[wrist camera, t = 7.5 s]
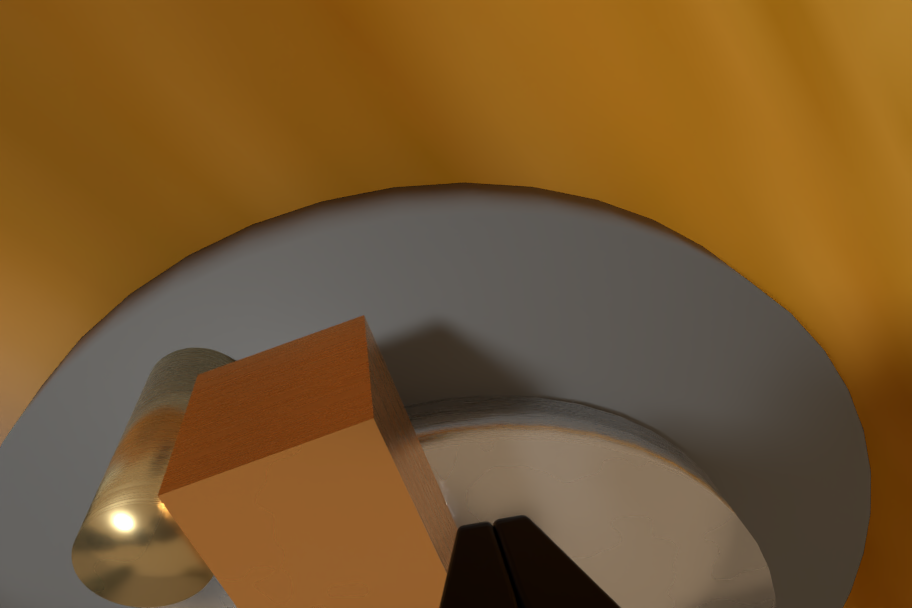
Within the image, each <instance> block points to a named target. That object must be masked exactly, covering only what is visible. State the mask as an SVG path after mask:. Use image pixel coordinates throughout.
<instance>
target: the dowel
mask: <svg viewBox="0 0 912 608" xmlns="http://www.w3.org/2000/svg"><path fill="white" fill-rule="evenodd" d="M232 362H235V361H234V360H233V359H232V358H230V357H229V356H227V355H225V354H223V353H221V352H218V351H215V350H212V349H207V348H185V349H180V350H177V351H174V352H172V353H170V354H168V355H166V356H165V357H163V358H162V359H161V360H160V361H158V362H157V364H156V365H155V366H154V367H153V369H152V370H151V372H150V375H149V377H148V379H147V381H146V383H145V386H144V388H143V390H142V392H141V395H140V397H139V399H138V401H137V403H136V406H135V408H134V410H133V412H132V415H131V417H130V419H129V421H128V423H127V426H126V428H125V430H124V432H123V435H122V437H121V439H120V441H119V443H118V446H117V448H116V450H115V452H114V455H113V457H112V459H111V461H110V463H109V466H108V468H107V470H106V472H105V475H104V477H103V479H102V481H101V483H100V486H99V488H98V490H97V492H96V495H95V497H94V499H93V501H92V503H91V506H90V508H89V510H88V512H87V515H86V517H85V519H84V521H83V523H82V526H81V528H80V530H79V532H78V535H77V537H76V539H75V541H74V544H73V547H72V556H71V559H72V564H73V568H74V570H75V573H76V574H77V576H78V578H79V579H80V580H81V581H82V583H83V584H84V585H85V586H86V587H87V588H88V589H90V590H91V591H92V592H94V593H95V594H97V595H98V596H100V597H102V598H104V599H106V600H109V601H111V602H114V603H117V604H121V605H125V606H131V607H142V608H150V607H161V606H167V605H171V604H175V603H178V602H181V601H183V600H186V599H188V598H190V597H192V596H193V595H195V594H197V593H198V592H199V591H201V590H202V589H203V588H204V587H205V586H206V585H207V584H208V583H209V581H210V580H211V579H212V577H213V575H214V574H213V573H212V572H211V570H210V569H209V567H208V566H207V565H206V563H205V562H204V560H203V559H202V558H201V556H200V555H199V553H198V552H197V551H196V549H195V548H194V546H193V545H192V544H191V542H190V541H189V539H188V538H187V537H186V535H185V534H184V532H183V531H182V530H181V528H180V527H179V525H178V524H177V523H176V521H175V520H174V518H173V517H172V516H171V514H170V513H169V511H168V510H167V509H166V507H165V506H164V504H163V503H162V502H161V500H160V499H159V497H158V493H159V490H160V487H161V484H162V481H163V478H164V475H165V472H166V469H167V466H168V463H169V460H170V457H171V454H172V451H173V448H174V445H175V442H176V439H177V436H178V433H179V430H180V427H181V424H182V421H183V418H184V415H185V412H186V409H187V406H188V403H189V400H190V397H191V394H192V391H193V388H194V385H195V382H196V379H197V376H198V375H199V374H201V373H204V372H207V371H210V370H213V369H215V368H218V367H221V366H224V365H226V364H229V363H232Z"/></svg>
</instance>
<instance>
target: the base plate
mask: <svg viewBox="0 0 912 608" xmlns="http://www.w3.org/2000/svg"><path fill="white" fill-rule="evenodd" d="M363 315H364V316H365V318H366V320H367V323H368V325H369V327H370V330H371V332H372V334H373V336H374V339H375V341H376V343H377V346H378V348H379V350H380V352H381V355H382V357H383V359H384V362H385V364H386V366H387V368H388V371H389V373H390V375H391V378H392V380H393V382H394V385H395V387H396V389H397V391H398V394H399V396H400V398H401V401H402V403H403V405H404V406H407V405H412V404H418V403H423V402H428V401H434V400H439V399H449V398H462V397H476V396H489V395H491V396H518V397H538V398H544V399H550V400H557V401H563V402H569V403H576V404H581V405H584V406H587V407H591V408H594V409H598V410H601V411H604V412H608V413H611V414H615V415H618V416H620V417H622V418H625V419H627V420H629V421H631V422H633V423H636V424H638V425H640V426H642V427H644V428H647V429H649V430H651V431H653V432H654V433H656V434H658V435H659V436H661V437H662V438H664V439H665V440H667V441H668V442H670V443H671V444H673V445H674V446H676V447H677V448H679V449H680V450H682V451H683V452H684V453H685V454H686V455H687V456H688V457H689V458H690V459H691V460H692V461H693V462H695V463H696V464H697V465H698V466H699V467H700V468H701V469H702V470H703V471H704V472H705V473H706V474H707V476H708V477H709V479H710V480H711V481H712V483H713V484H714V485H715V487H716V488H717V489H718V491H719V492H720V493H721V495H722V496H723V497H724V499H725V500H726V501H727V503H728V504H729V506H730V507H731V508H732V510H733V511H734V512H735V514H736V515H737V516H738V518H739V519H740V520H741V522H742V523H743V524H744V526H745V527H746V529H747V530H748V531H749V533H750V534H751V535H752V537H753V538H754V539H755V541H756V542H757V544H758V546H759V548H760V550H761V552H762V554H763V557H764V559H765V561H766V563H767V565H768V567H769V570H770V574H771V579H772V583H773V587H774V592H775V598H776V608H843V606H844V604H845V602H846V600H847V598H848V596H849V594H850V592H851V589H852V586H853V583H854V580H855V577H856V574H857V571H858V568H859V565H860V562H861V559H862V556H863V553H864V547H865V541H866V536H867V530H868V524H869V519H870V504H871V471H870V465H869V459H868V453H867V447H866V441H865V436H864V430H863V428H862V425H861V422H860V420H859V417H858V414H857V412H856V409H855V406H854V404H853V401H852V398H851V396H850V393H849V390H848V389H847V387H846V385H845V384H844V382H843V380H842V379H841V377H840V375H839V374H838V372H837V371H836V369H835V367H834V366H833V364H832V362H831V361H830V359H829V357H828V356H827V354H826V353H825V351H824V350H823V349H822V347H821V346H820V345H819V344H818V343H817V342H816V341H815V340H814V339H813V337H812V336H811V335H810V334H809V333H808V332H807V331H806V330H805V329H804V328H803V326H802V325H801V324H800V323H799V322H798V321H797V320H796V319H795V318H794V317H793V315H792V314H791V313H790V312H788V311H787V310H786V309H784V308H783V307H782V306H781V305H779V304H778V303H777V302H775V301H774V300H773V299H771V298H770V297H769V296H768V295H766V294H765V293H764V292H762V291H761V290H760V289H758V288H757V287H756V286H754V285H753V284H752V283H751V282H749V281H748V280H747V279H745V278H744V277H743V276H741V275H740V274H739V273H737V272H736V271H735V270H733V269H732V268H731V267H729V266H728V265H727V264H725V263H724V262H723V261H721V260H720V259H719V258H717V257H716V256H715V255H713V254H712V253H711V252H709V251H708V250H707V249H705V248H704V247H703V246H701V245H699V244H697V243H695V242H694V241H692V240H690V239H688V238H686V237H684V236H682V235H681V234H679V233H677V232H675V231H673V230H671V229H669V228H667V227H666V226H664V225H662V224H660V223H658V222H656V221H654V220H652V219H649V218H647V217H644V216H641V215H638V214H635V213H632V212H630V211H627V210H624V209H621V208H618V207H615V206H613V205H610V204H607V203H604V202H601V201H599V200H595V199H590V198H585V197H580V196H575V195H570V194H565V193H560V192H555V191H550V190H545V189H540V188H535V187H525V186H509V185H493V184H477V183H452V184H437V185H423V186H408V187H393V188H388V189H383V190H378V191H373V192H368V193H363V194H358V195H352V196H347V197H342V198H337V199H332V200H327V201H322V202H319V203H316V204H313V205H310V206H307V207H304V208H301V209H298V210H295V211H292V212H289V213H286V214H283V215H280V216H277V217H274V218H271V219H268V220H265V221H262V222H259V223H256V224H253V225H250V226H248V227H246V228H244V229H242V230H240V231H238V232H236V233H234V234H232V235H230V236H228V237H226V238H224V239H222V240H220V241H217V242H215V243H213V244H211V245H209V246H207V247H205V248H203V249H201V250H199V251H197V252H195V253H193V254H191V255H189V256H187V257H185V258H184V259H182V260H181V261H179V262H178V263H176V264H175V265H173V266H172V267H170V268H169V269H167V270H166V271H164V272H163V273H161V274H160V275H158V276H157V277H155V278H154V279H152V280H151V281H149V282H148V283H146V284H145V285H143V286H142V287H140V288H139V289H137V290H136V291H134V292H133V293H131V294H130V295H129V296H127V297H126V298H125V299H124V300H123V301H122V302H121V303H120V304H119V305H117V306H116V307H115V308H114V309H113V310H112V311H111V312H110V313H108V314H107V315H106V316H105V317H104V318H103V319H102V320H101V321H100V322H98V323H97V324H96V325H95V326H94V327H93V328H92V329H91V330H89V331H88V332H87V333H86V334H85V335H84V336H83V337H82V338H81V339H80V340H79V341H78V342H77V344H76V345H75V346H74V347H73V348H72V350H71V351H70V352H69V353H68V355H67V356H66V357H65V358H64V359H63V361H62V362H61V363H60V364H59V366H58V367H57V368H56V369H55V370H54V372H53V373H52V374H51V375H50V377H49V378H48V379H47V380H46V381H45V383H44V384H43V385H42V386H41V388H40V389H39V391H38V392H37V394H36V395H35V397H34V398H33V399H32V401H31V402H30V404H29V405H28V407H27V408H26V409H25V411H24V412H23V414H22V415H21V417H20V418H19V420H18V421H17V422H16V424H15V425H14V427H13V428H12V430H11V431H10V432H9V434H8V435H7V437H6V438H5V440H4V442H3V443H2V445H1V447H0V608H141V607H131V606H125V605H121V604H117V603H114V602H111V601H109V600H106V599H104V598H102V597H100V596H98V595H97V594H95V593H94V592H92V591H91V590H90V589H88V588H87V587H86V586H85V585H84V584H83V583H82V581H81V580H80V579H79V578H78V576H77V574H76V573H75V570H74V568H73V564H72V559H71V556H72V547H73V544H74V541H75V539H76V537H77V535H78V532H79V530H80V528H81V526H82V523H83V521H84V519H85V517H86V515H87V512H88V510H89V508H90V506H91V503H92V501H93V499H94V497H95V495H96V492H97V490H98V488H99V486H100V483H101V481H102V479H103V477H104V475H105V472H106V470H107V468H108V466H109V463H110V461H111V459H112V457H113V455H114V452H115V450H116V448H117V446H118V443H119V441H120V439H121V437H122V435H123V432H124V430H125V428H126V426H127V423H128V421H129V419H130V417H131V415H132V412H133V410H134V408H135V406H136V403H137V401H138V399H139V397H140V395H141V392H142V390H143V388H144V386H145V383H146V381H147V379H148V377H149V375H150V372H151V370H152V369H153V367H154V366H155V365H156V364H157V362H158V361H160V360H161V359H162V358H163V357H165V356H166V355H168V354H170V353H172V352H174V351H177V350H180V349H185V348H207V349H212V350H215V351H218V352H221V353H223V354H225V355H227V356H229V357H230V358H232V359H233V360H234V361H238V360H240V359H243V358H246V357H249V356H252V355H254V354H257V353H260V352H263V351H265V350H268V349H271V348H274V347H277V346H279V345H282V344H285V343H288V342H290V341H293V340H296V339H299V338H302V337H304V336H307V335H310V334H313V333H315V332H318V331H321V330H324V329H327V328H329V327H332V326H335V325H338V324H341V323H343V322H346V321H349V320H352V319H354V318H357V317H360V316H363Z"/></svg>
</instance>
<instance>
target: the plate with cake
mask: <svg viewBox="0 0 912 608" xmlns="http://www.w3.org/2000/svg"><path fill="white" fill-rule="evenodd" d="M158 497H159V499H160V500H161V502H162V503H163V504H164V506H165V507H166V509H167V510H168V511H169V513H170V514H171V516H172V517H173V518H174V520H175V521H176V523H177V524H178V525H179V527H180V528H181V530H182V531H183V532H184V534H185V535H186V537H187V538H188V539H189V541H190V542H191V544H192V545H193V546H194V548H195V549H196V551H197V552H198V553H199V555H200V556H201V558H202V559H203V560H204V562H205V563H206V565H207V566H208V567H209V569H210V570H211V572H212V573H213V574H214V575H213V577H212V579H211V580H210V581H209V583H208V584H207V585H206V586H205V587H204V588H203V589H202V590H201V591H199V592H198V593H197V594H195V595H193V596H192V597H190V598H188V599H186V600H183V601H181V602H178V603H175V604H171V605H167V606H161V607H150V608H439V606H440V602H441V597H442V593H443V588H444V584H445V580H446V575H447V571H448V567H449V562H450V558H451V553H452V549H453V545H454V540H455V536H456V532H457V530H458V528H459V527H460V526H462V525H467V524H473V523H479V522H484V521H488V522H490V523H491V524H492V525H493V523H494V522H495V521H496V520H497V519H501V518H507V517H513V516H518V515H525V516H527V517H529V518H530V519H531V520H532V521H533V522H534V523H535V524H536V525H537V526H538V527H539V528H540V529H541V530H542V531H543V532H544V533H545V534H546V535H547V536H548V537H549V538H550V539H551V540H552V541H553V542H554V543H555V544H557V545H558V546H559V547H560V548H561V549H562V550H563V551H564V552H565V553H566V554H567V555H568V556H569V557H570V558H571V559H572V560H573V561H574V562H575V563H576V564H577V565H578V566H579V567H580V568H581V569H582V570H583V571H584V572H585V573H586V574H587V575H588V576H589V577H590V578H591V579H592V580H593V581H594V582H595V583H596V584H597V585H598V586H599V587H600V588H601V589H603V590H604V591H605V592H606V593H607V594H608V595H609V596H610V597H611V598H612V599H613V600H614V601H615V602H616V603H617V604H618V605H619V606H620V607H621V608H776V598H775V592H774V587H773V583H772V579H771V574H770V570H769V567H768V565H767V563H766V561H765V559H764V557H763V554H762V552H761V550H760V548H759V546H758V544H757V542H756V541H755V539H754V538H753V537H752V535H751V534H750V533H749V531H748V530H747V529H746V527H745V526H744V524H743V523H742V522H741V520H740V519H739V518H738V516H737V515H736V514H735V512H734V511H733V510H732V508H731V507H730V506H729V504H728V503H727V501H726V500H725V499H724V497H723V496H722V495H721V493H720V492H719V491H718V489H717V488H716V487H715V485H714V484H713V483H712V481H711V480H710V479H709V477H708V476H707V474H706V473H705V472H704V471H703V470H702V469H701V468H700V467H699V466H698V465H697V464H696V463H695V462H693V461H692V460H691V459H690V458H689V457H688V456H687V455H686V454H685V453H684V452H683V451H682V450H680V449H679V448H677V447H676V446H674V445H673V444H671V443H670V442H668V441H667V440H665V439H664V438H662V437H661V436H659V435H658V434H656V433H654V432H653V431H651V430H649V429H647V428H644V427H642V426H640V425H638V424H636V423H633V422H631V421H629V420H627V419H625V418H622V417H620V416H618V415H615V414H611V413H608V412H604V411H601V410H598V409H594V408H591V407H587V406H584V405H581V404H576V403H569V402H563V401H557V400H550V399H544V398H538V397H518V396H491V395H489V396H476V397H462V398H449V399H439V400H434V401H428V402H423V403H418V404H412V405H407V406H404V405H403V403H402V401H401V398H400V396H399V394H398V391H397V389H396V387H395V385H394V382H393V380H392V378H391V375H390V373H389V371H388V368H387V366H386V364H385V362H384V359H383V357H382V355H381V352H380V350H379V348H378V346H377V343H376V341H375V339H374V336H373V334H372V332H371V330H370V327H369V325H368V323H367V320H366V318H365V316H364V315H363V316H360V317H357V318H354V319H352V320H349V321H346V322H343V323H341V324H338V325H335V326H332V327H329V328H327V329H324V330H321V331H318V332H315V333H313V334H310V335H307V336H304V337H302V338H299V339H296V340H293V341H290V342H288V343H285V344H282V345H279V346H277V347H274V348H271V349H268V350H265V351H263V352H260V353H257V354H254V355H252V356H249V357H246V358H243V359H240V360H238V361H235V362H232V363H229V364H226V365H224V366H221V367H218V368H215V369H213V370H210V371H207V372H204V373H201V374H199V375H198V376H197V379H196V382H195V385H194V388H193V391H192V394H191V397H190V400H189V403H188V406H187V409H186V412H185V415H184V418H183V421H182V424H181V427H180V430H179V433H178V436H177V439H176V442H175V445H174V448H173V451H172V454H171V457H170V460H169V463H168V466H167V469H166V472H165V475H164V478H163V481H162V484H161V487H160V490H159V493H158ZM141 608H142V607H141Z"/></svg>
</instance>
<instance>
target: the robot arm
mask: <svg viewBox="0 0 912 608" xmlns="http://www.w3.org/2000/svg"><path fill="white" fill-rule="evenodd" d="M439 608H621V607H620V606H619V605H618V604H617V603H616V602H615V601H614V600H613V599H612V598H611V597H610V596H609V595H608V594H607V593H606V592H605V591H604V590H603V589H601V588H600V587H599V586H598V585H597V584H596V583H595V582H594V581H593V580H592V579H591V578H590V577H589V576H588V575H587V574H586V573H585V572H584V571H583V570H582V569H581V568H580V567H579V566H578V565H577V564H576V563H575V562H574V561H573V560H572V559H571V558H570V557H569V556H568V555H567V554H566V553H565V552H564V551H563V550H562V549H561V548H560V547H559V546H558V545H557V544H555V543H554V542H553V541H552V540H551V539H550V538H549V537H548V536H547V535H546V534H545V533H544V532H543V531H542V530H541V529H540V528H539V527H538V526H537V525H536V524H535V523H534V522H533V521H532V520H531V519H530V518H529V517H527V516H525V515H518V516H513V517H507V518H501V519H497V520H496V521H495V522H494V523H493V525H492V524H491V523H490V522H488V521H484V522H479V523H473V524H467V525H462V526H460V527H459V528H458V530H457V532H456V536H455V540H454V545H453V549H452V553H451V558H450V562H449V567H448V571H447V575H446V580H445V584H444V588H443V593H442V597H441V602H440V606H439Z"/></svg>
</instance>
